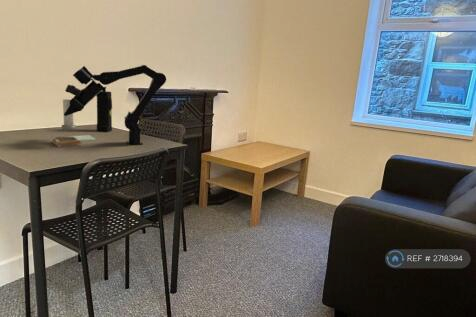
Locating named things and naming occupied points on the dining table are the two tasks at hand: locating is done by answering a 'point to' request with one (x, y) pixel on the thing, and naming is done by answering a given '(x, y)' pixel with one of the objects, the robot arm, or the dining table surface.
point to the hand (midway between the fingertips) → (65, 114)
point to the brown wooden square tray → (66, 141)
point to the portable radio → (104, 111)
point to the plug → (67, 118)
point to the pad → (84, 137)
